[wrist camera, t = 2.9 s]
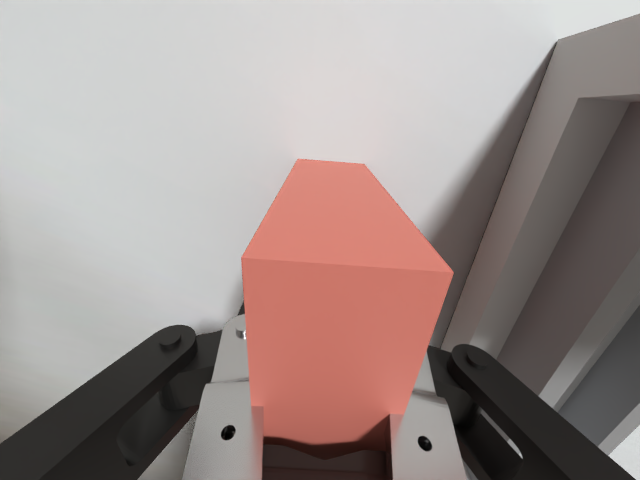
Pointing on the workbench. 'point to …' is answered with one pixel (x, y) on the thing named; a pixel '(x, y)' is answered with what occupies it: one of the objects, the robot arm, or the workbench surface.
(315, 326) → the red rectangular block
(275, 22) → the workbench surface
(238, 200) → the workbench surface
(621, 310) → the u-shaped grey holder
